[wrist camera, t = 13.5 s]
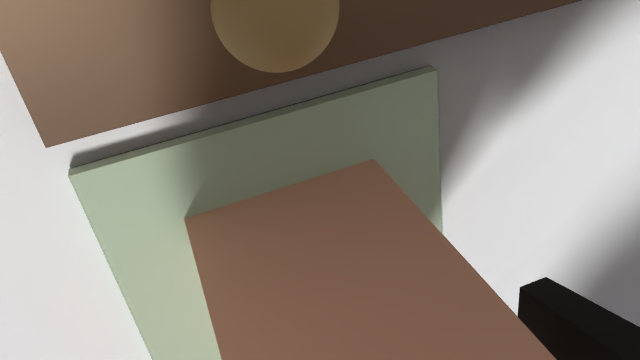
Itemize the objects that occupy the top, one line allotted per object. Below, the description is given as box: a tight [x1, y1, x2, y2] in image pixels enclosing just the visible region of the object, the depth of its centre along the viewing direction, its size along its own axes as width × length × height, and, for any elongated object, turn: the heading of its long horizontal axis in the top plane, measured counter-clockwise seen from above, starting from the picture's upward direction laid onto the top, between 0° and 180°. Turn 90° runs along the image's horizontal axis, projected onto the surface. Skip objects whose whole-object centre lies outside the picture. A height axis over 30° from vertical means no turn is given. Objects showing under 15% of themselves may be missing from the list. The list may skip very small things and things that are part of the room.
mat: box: [68, 66, 442, 360], centre depth 14 cm, size 8×8×1 cm
